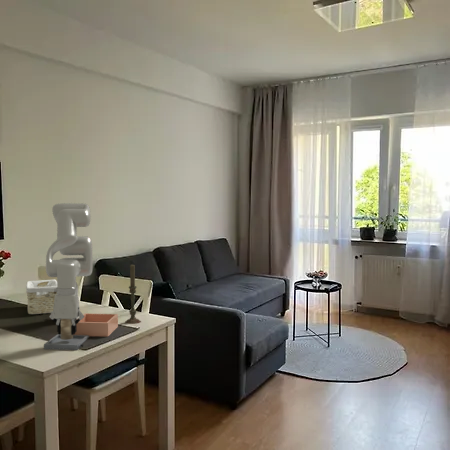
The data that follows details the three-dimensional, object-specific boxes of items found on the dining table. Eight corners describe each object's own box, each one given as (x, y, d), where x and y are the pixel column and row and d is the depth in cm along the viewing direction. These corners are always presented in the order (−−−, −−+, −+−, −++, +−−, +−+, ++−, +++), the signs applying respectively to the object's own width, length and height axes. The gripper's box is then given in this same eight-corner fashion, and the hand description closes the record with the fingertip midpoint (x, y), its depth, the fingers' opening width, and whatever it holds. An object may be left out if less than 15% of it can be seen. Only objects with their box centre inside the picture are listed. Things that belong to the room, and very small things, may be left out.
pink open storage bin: (72, 337, 210) (72, 322, 209) (84, 327, 226) (84, 313, 225) (108, 338, 209) (108, 323, 209) (118, 328, 225) (117, 314, 225)
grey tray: (43, 349, 194) (43, 344, 194) (57, 338, 208) (57, 334, 208) (77, 349, 193) (77, 345, 193) (88, 339, 207) (88, 335, 207)
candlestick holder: (132, 327, 227) (132, 265, 226) (119, 324, 232) (119, 263, 231) (146, 323, 235) (145, 263, 233) (132, 320, 240) (132, 261, 238)
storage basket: (26, 305, 269) (26, 280, 268) (57, 303, 275) (56, 278, 274) (26, 316, 246) (26, 288, 246) (59, 313, 253) (59, 286, 252)
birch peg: (58, 339, 198) (58, 316, 197) (63, 336, 203) (63, 313, 202) (70, 339, 198) (70, 316, 197) (74, 336, 203) (74, 313, 202)
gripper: (43, 292, 196) (43, 336, 197) (83, 293, 195) (83, 337, 196) (50, 289, 203) (51, 330, 205) (89, 290, 203) (89, 331, 204)
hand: (67, 333), depth 200 cm, fingers closed on birch peg, 5 cm apart
